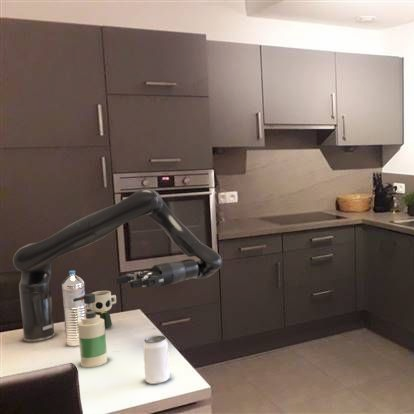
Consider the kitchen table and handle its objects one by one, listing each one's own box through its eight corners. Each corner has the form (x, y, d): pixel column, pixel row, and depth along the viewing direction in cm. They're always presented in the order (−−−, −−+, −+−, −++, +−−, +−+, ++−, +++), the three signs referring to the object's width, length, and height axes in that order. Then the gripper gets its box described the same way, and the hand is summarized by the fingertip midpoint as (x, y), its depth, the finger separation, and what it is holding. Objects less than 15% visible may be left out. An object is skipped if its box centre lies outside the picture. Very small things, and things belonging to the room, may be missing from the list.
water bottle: (79, 347, 181) (73, 273, 178) (61, 346, 183) (55, 273, 180) (93, 340, 188) (88, 269, 185) (76, 339, 189) (70, 268, 186)
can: (149, 375, 158) (147, 335, 157) (172, 374, 159) (170, 334, 157) (142, 385, 152) (139, 343, 150) (166, 383, 152) (163, 342, 151)
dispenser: (100, 356, 173) (96, 307, 171) (111, 361, 169) (108, 311, 167) (76, 363, 168) (72, 313, 166) (87, 369, 163) (83, 317, 161)
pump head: (92, 305, 168) (91, 292, 168) (97, 307, 166) (96, 294, 166) (71, 310, 163) (70, 297, 163) (76, 312, 161) (75, 299, 161)
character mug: (90, 333, 195) (87, 298, 193) (83, 328, 200) (80, 294, 198) (121, 326, 202) (119, 292, 201) (114, 321, 207) (112, 288, 206)
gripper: (156, 260, 191) (111, 268, 178) (179, 265, 182) (133, 274, 169) (157, 281, 192) (112, 291, 179) (181, 287, 183) (135, 298, 170)
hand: (122, 283), depth 174 cm, fingers open, 8 cm apart
